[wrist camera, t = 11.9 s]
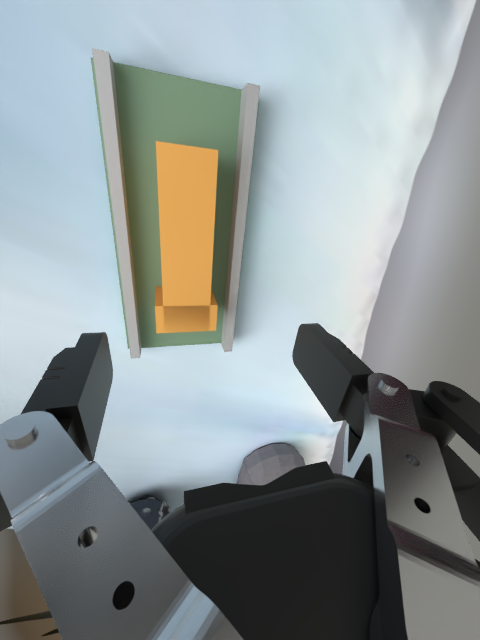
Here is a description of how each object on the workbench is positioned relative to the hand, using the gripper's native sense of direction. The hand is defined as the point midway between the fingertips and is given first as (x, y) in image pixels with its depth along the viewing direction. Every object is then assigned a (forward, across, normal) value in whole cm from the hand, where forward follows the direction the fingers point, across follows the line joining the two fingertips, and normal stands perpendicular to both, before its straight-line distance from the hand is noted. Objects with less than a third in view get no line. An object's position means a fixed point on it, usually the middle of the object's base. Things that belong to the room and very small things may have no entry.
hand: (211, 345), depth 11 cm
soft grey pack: (+20, -17, +47) cm, 54 cm away
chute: (+19, 0, 0) cm, 19 cm away
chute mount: (+20, 0, 0) cm, 20 cm away
